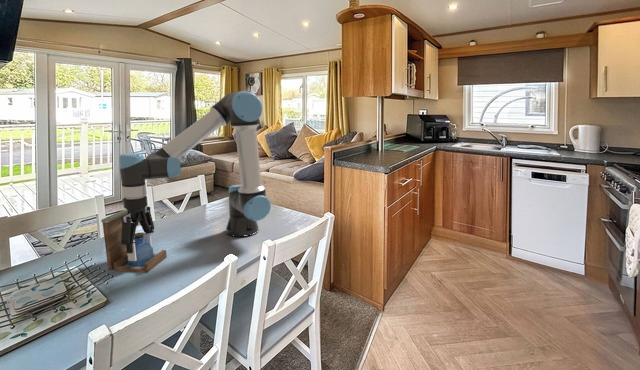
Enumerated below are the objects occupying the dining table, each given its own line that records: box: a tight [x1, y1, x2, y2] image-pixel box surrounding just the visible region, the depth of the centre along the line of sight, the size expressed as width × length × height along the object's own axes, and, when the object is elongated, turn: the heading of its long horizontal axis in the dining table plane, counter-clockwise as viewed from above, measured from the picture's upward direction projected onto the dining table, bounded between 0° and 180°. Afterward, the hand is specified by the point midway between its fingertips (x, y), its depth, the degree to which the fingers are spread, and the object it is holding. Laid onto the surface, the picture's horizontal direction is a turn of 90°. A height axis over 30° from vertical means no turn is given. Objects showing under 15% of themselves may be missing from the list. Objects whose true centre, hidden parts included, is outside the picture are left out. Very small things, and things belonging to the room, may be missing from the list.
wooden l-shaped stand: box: [100, 208, 168, 273], centre depth 125 cm, size 15×14×19 cm
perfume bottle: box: [128, 232, 154, 267], centre depth 125 cm, size 6×6×12 cm
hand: (140, 254), depth 126 cm, fingers open, 9 cm apart
